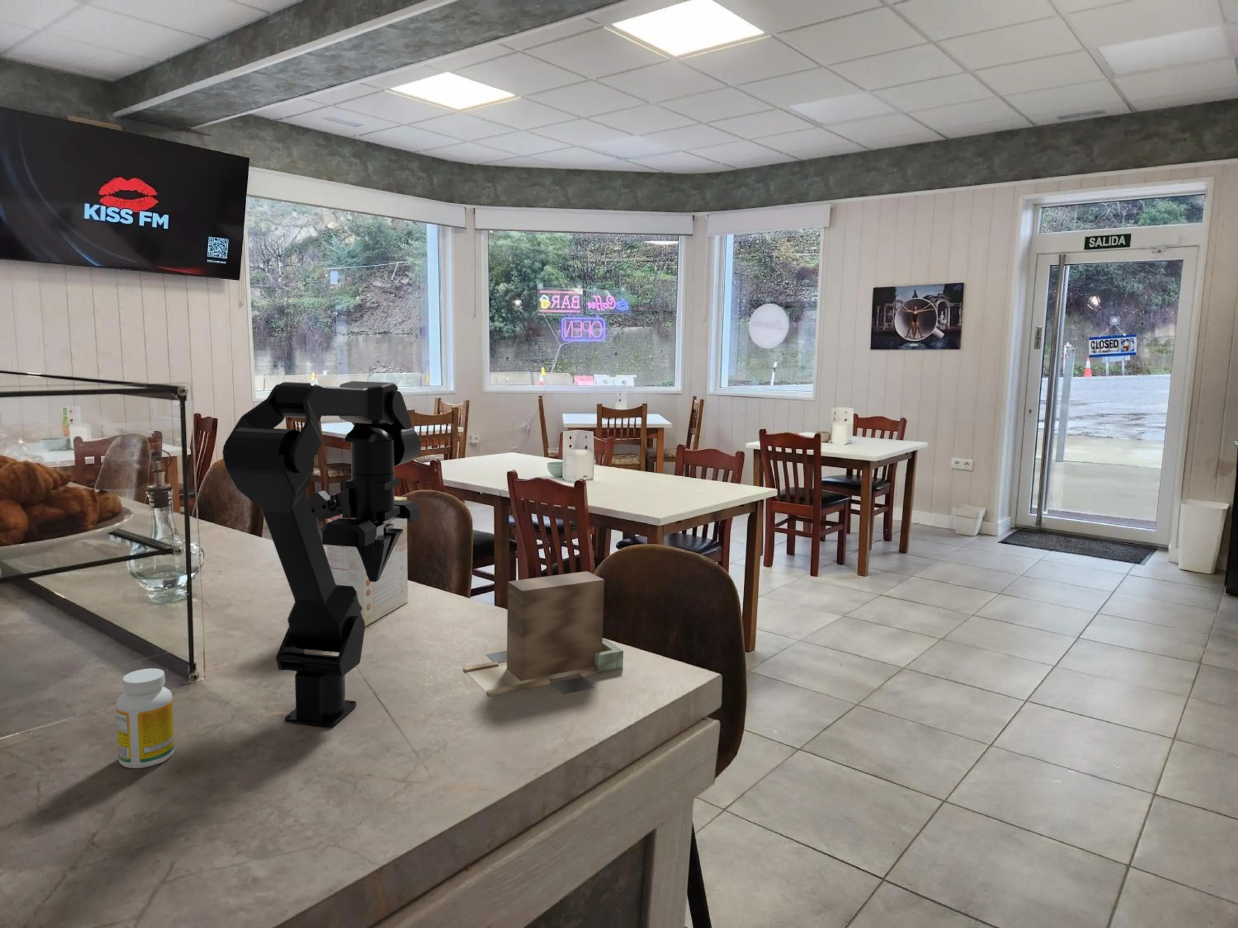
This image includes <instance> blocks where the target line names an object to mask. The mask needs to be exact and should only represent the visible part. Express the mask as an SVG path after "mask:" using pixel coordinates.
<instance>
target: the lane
mask: <svg viewBox="0 0 1238 928" xmlns="http://www.w3.org/2000/svg"><path fill="white" fill-rule="evenodd" d="M485 655H486V657H487V658H488V659H490V661H491V662H486V663H481V664H480V663H479V664H475V665H469V666H463V668H462V669H463V671H464V672H465V673H466V674H467V675H468V676H469V677H470V678H471V679H472V680H473V682H475V683H476V684H477V685H478V686H479V687H480V688H481V690H483V691H484V692H485V693H486V694H487V695H488V696H489V697H491V696H496V695H500V694H501V695H502V694H506V693H510V692H515V691H520V690H525V689H531V688H535V687H539V686H545V685H549V684H550V685H551V686H553V687H554V688H555V689H556V690H557V691H559V693H561V694H562V695H567V694H571V693H575V692H576V693H577V692H581V691H586V690H590V689H594V688H596V686H595V685H594V684H592V683H591V682H590V681H589V680H587V679H586V677H589V676H595V675H598V674H603V673H609V672H615V671H618V670H623V669H624V650H623V649H621V648H620V647H618V646H617V645H615V644H614V643H612V642H610V641H608V639H605V638H604V637H603V639H602V652H599V653H595V666H594V667H589V668H584V669H579V670H574V671H569V672H564V673H559V674H554V675H549V676H544V677H539V678H534V679H529V680H523V681H520V680H519V679H518V678H517V677H516V676H515V675H514V674H512V673H511V672H510V671H509V670H508V669H507V664H506V665H500V666H499V664H502V663H507V650H502V651H498V652H497V651H496V652H492V653H485ZM575 675H578V676H579V677H574V678H570V679H563V680H559V681H555V682H551V680H553V679H558V678H563V677H569V676H575ZM584 677H585V678H584Z"/></svg>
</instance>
